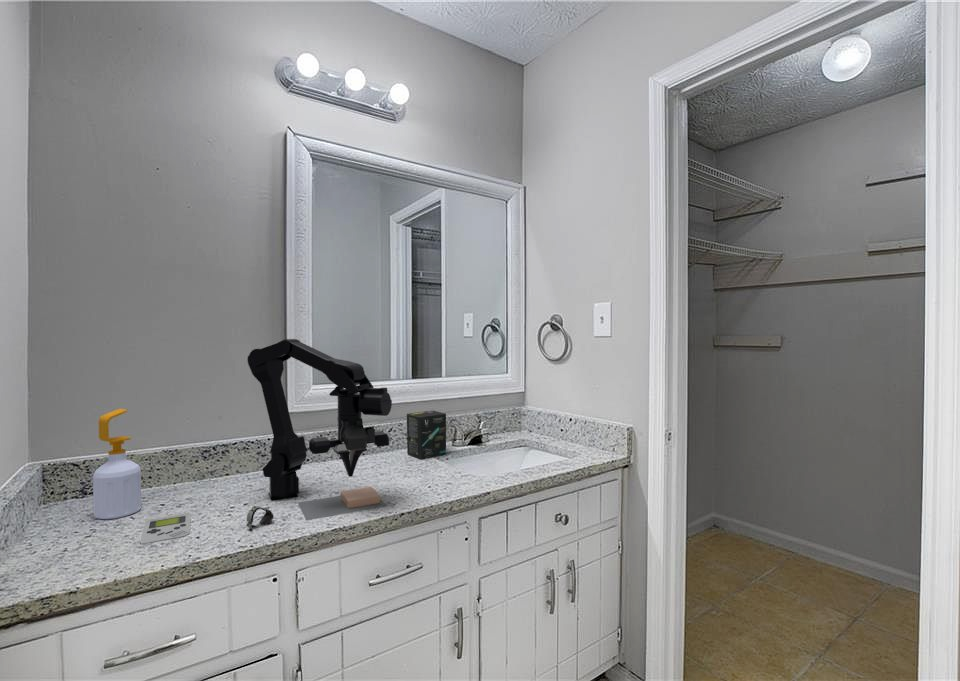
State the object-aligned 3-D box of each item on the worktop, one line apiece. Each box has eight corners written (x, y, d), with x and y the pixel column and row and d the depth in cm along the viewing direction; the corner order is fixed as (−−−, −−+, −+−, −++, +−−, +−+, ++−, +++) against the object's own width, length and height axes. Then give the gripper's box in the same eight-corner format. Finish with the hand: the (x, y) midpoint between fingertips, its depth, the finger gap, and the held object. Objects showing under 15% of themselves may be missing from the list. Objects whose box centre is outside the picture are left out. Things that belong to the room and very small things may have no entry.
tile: (348, 500, 118) (380, 495, 121) (340, 491, 125) (371, 486, 128) (348, 508, 118) (380, 503, 121) (340, 498, 125) (371, 493, 129)
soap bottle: (148, 510, 118) (147, 409, 117) (104, 522, 110) (102, 414, 110) (130, 503, 123) (128, 406, 122) (86, 515, 115) (84, 411, 114)
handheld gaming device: (139, 543, 99) (145, 518, 112) (139, 546, 99) (145, 521, 112) (189, 533, 103) (190, 511, 116) (189, 537, 103) (190, 514, 116)
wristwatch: (262, 535, 107) (276, 513, 110) (244, 524, 104) (258, 502, 107) (256, 532, 109) (270, 511, 112) (238, 522, 106) (252, 501, 109)
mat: (306, 522, 111) (306, 520, 111) (297, 504, 122) (297, 502, 122) (387, 507, 120) (387, 505, 120) (372, 491, 131) (372, 490, 131)
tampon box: (432, 449, 178) (431, 409, 177) (447, 454, 171) (447, 413, 170) (406, 454, 171) (405, 413, 170) (420, 460, 164) (420, 416, 163)
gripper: (316, 422, 110) (317, 491, 110) (396, 415, 119) (396, 479, 119) (308, 415, 120) (309, 478, 120) (382, 409, 128) (382, 468, 129)
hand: (350, 476), depth 122 cm, fingers closed
